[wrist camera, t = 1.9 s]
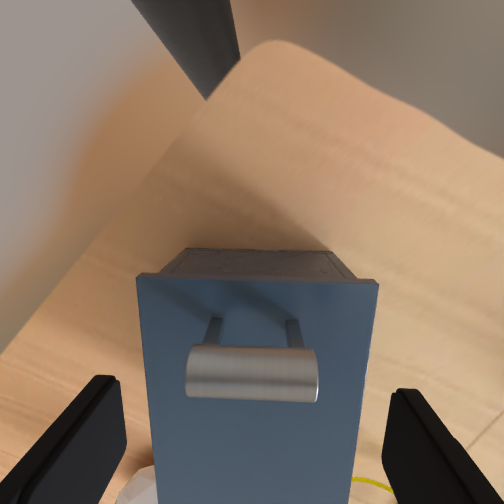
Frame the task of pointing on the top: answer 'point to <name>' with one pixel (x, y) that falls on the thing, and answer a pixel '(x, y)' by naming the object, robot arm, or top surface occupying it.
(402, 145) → the top surface
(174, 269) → the box
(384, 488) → the atom model
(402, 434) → the robot arm
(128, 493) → the geometric ball
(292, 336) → the freezer lid
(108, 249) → the top surface
